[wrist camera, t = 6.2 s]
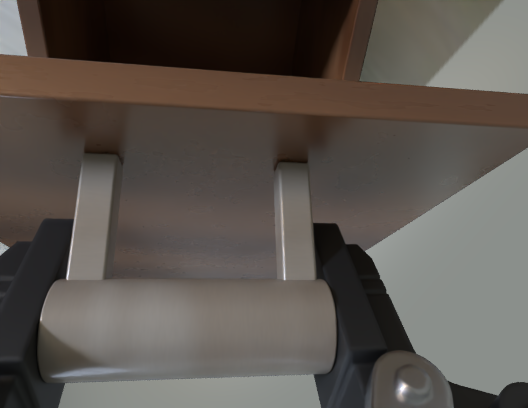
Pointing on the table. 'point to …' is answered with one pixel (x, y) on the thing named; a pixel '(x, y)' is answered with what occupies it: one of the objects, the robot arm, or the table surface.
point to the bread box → (206, 34)
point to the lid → (219, 203)
